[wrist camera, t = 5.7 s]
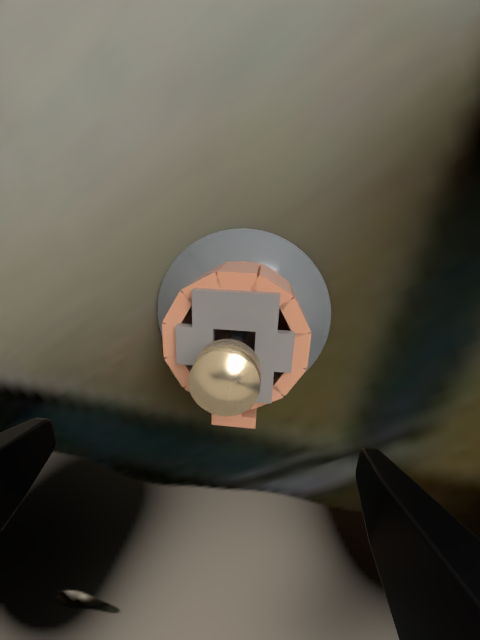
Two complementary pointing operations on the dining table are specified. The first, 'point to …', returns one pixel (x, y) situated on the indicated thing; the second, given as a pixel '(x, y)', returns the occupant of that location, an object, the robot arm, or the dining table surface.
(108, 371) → the dining table surface
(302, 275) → the disc
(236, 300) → the orange slatted barrel
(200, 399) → the plunger
